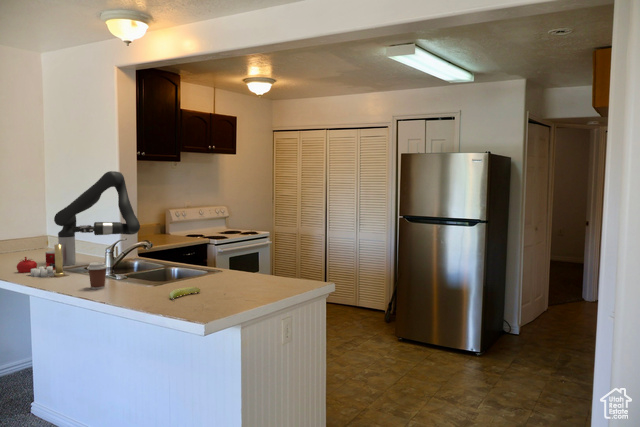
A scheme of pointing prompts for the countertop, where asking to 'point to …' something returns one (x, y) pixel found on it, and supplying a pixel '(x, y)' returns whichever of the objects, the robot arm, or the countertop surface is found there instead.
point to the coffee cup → (97, 274)
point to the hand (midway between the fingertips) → (72, 229)
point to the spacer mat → (42, 272)
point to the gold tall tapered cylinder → (58, 261)
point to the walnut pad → (59, 277)
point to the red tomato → (26, 266)
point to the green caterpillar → (183, 291)
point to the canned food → (50, 259)
